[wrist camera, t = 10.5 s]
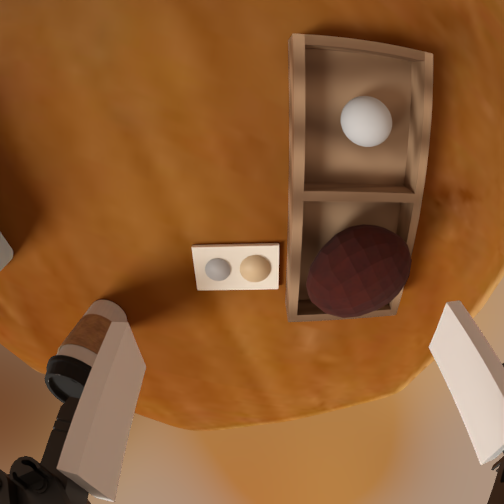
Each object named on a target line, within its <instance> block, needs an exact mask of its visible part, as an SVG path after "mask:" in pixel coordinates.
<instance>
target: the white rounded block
mask: <svg viewBox="0 0 504 504" xmlns="http://www.w3.org/2000/svg"><path fill="white" fill-rule="evenodd" d="M12 258H13V250H12V248H11V247H10V245H9V244H8V242H7V241H6V240H5V238H4V237H3V235H2V234H1V232H0V271H1V270H2V269H3V268H4V267H5V266H6V265H7V264H8V263H9V262H10V261H11V260H12Z"/></svg>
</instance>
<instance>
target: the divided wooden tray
mask: <svg viewBox="0 0 504 504" xmlns="http://www.w3.org/2000/svg"><path fill="white" fill-rule="evenodd" d="M288 57H289V202H288V244H287V274H286V299H285V303H286V310H287V317H288V322H302V321H322V320H339V319H354V318H367V317H379V316H391V315H396V313H397V310H398V306H399V303H400V299H401V295H402V292H403V288H404V287H403V288H402V290H401V291H400V293H399V294H398V295H397V296H396V297H395V298H394V299H393V300H392V301H391V302H390V303H388V304H386V305H384V306H383V307H381V308H379V309H378V310H376V311H373V312H370V313H367V314H364V315H362V316H359V317H348V318H341V317H337V316H333V315H330V314H326V313H325V312H323V311H322V310H321V309H320V308H318V307H317V306H316V305H315V304H314V303H312V302H311V300H310V298H309V296H308V291H307V287H306V282H307V277H308V273H309V269H310V265H311V264H312V262H313V261H314V259H315V257H316V256H317V254H318V253H319V251H320V249H321V248H322V247H323V246H324V245H325V244H326V243H327V242H328V241H329V240H330V239H331V238H332V237H333V236H334V235H335V234H337V233H339V232H341V231H343V230H345V229H347V228H349V227H351V226H357V225H363V224H365V225H376V226H379V227H383V228H386V229H388V230H390V231H392V232H394V233H396V234H398V235H399V236H400V237H401V238H402V239H403V240H404V241H405V242H406V244H407V245H408V248H409V251H410V256H411V255H412V251H413V246H414V241H415V236H416V231H417V226H418V221H419V215H420V210H421V204H422V198H423V191H424V184H425V177H426V170H427V161H428V152H429V143H430V131H431V118H432V99H433V54H432V53H428V52H424V51H420V50H415V49H411V48H406V47H401V46H396V45H391V44H385V43H380V42H373V41H367V40H360V39H352V38H344V37H334V36H323V35H309V34H292V36H291V37H290V38H289V40H288ZM359 96H370V97H374V98H376V99H378V100H380V101H381V102H382V103H383V104H384V105H385V106H386V107H387V108H388V110H389V112H390V114H391V118H392V129H391V132H390V134H389V136H388V138H387V139H386V140H385V141H384V142H382V143H381V144H379V145H377V146H373V147H363V146H360V145H357V144H355V143H353V142H352V141H351V140H350V139H349V138H348V137H347V136H346V135H345V133H344V132H343V129H342V126H341V113H342V110H343V108H344V106H345V105H346V104H347V103H348V102H349V101H350V100H352V99H353V98H356V97H359Z"/></svg>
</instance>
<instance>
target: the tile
mask: <svg viewBox="0 0 504 504" xmlns="http://www.w3.org/2000/svg"><path fill="white" fill-rule="evenodd" d="M192 254H193V262H194V269H195V277H196V284H197V290H256V289H278V283H279V243H257V244H215V245H192Z"/></svg>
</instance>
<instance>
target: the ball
mask: <svg viewBox="0 0 504 504" xmlns="http://www.w3.org/2000/svg"><path fill="white" fill-rule="evenodd" d="M341 126H342V129H343V132H344V133H345V135H346V136H347V137H348V138H349V139H350V140H351V141H352V142H353V143H355V144H357V145H360V146H363V147H373V146H377V145H379V144H381V143H382V142H384V141H385V140H386V139H387V138H388V136H389V134H390V132H391V129H392V118H391V114H390V112H389V110H388V108H387V107H386V106H385V105H384V104H383V103H382V102H381V101H380V100H378V99H376V98H374V97H370V96H359V97H356V98H353V99H352V100H350V101H349V102H348V103H347V104H346V105H345V106H344V108H343V110H342V113H341Z"/></svg>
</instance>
